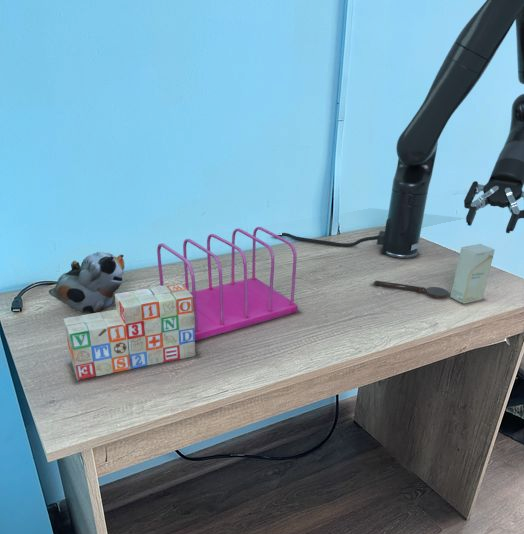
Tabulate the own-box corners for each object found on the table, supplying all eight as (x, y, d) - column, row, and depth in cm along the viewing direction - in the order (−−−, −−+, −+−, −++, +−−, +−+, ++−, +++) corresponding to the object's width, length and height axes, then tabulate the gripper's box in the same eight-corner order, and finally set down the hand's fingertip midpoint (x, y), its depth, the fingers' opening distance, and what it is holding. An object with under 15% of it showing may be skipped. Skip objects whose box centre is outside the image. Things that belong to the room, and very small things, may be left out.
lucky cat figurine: (75, 286, 123) (98, 233, 119) (119, 313, 122) (143, 260, 118) (36, 295, 109) (61, 234, 104) (86, 324, 108) (112, 265, 104)
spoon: (372, 289, 126) (372, 284, 125) (375, 281, 130) (375, 276, 129) (447, 300, 121) (448, 295, 121) (447, 291, 126) (448, 287, 125)
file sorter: (157, 307, 115) (151, 238, 107) (255, 284, 127) (256, 219, 119) (194, 342, 102) (190, 266, 94) (298, 312, 114) (302, 242, 106)
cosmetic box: (463, 304, 120) (475, 253, 113) (449, 297, 123) (460, 246, 117) (483, 299, 122) (496, 249, 116) (468, 292, 125) (480, 243, 119)
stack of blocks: (77, 381, 90) (65, 317, 84) (71, 363, 95) (59, 301, 88) (196, 355, 98) (193, 295, 92) (185, 340, 103) (182, 281, 97)
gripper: (480, 152, 123) (455, 213, 120) (547, 161, 116) (522, 225, 114) (480, 172, 129) (457, 229, 127) (543, 181, 123) (520, 242, 120)
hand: (488, 227), depth 120 cm, fingers open, 8 cm apart
